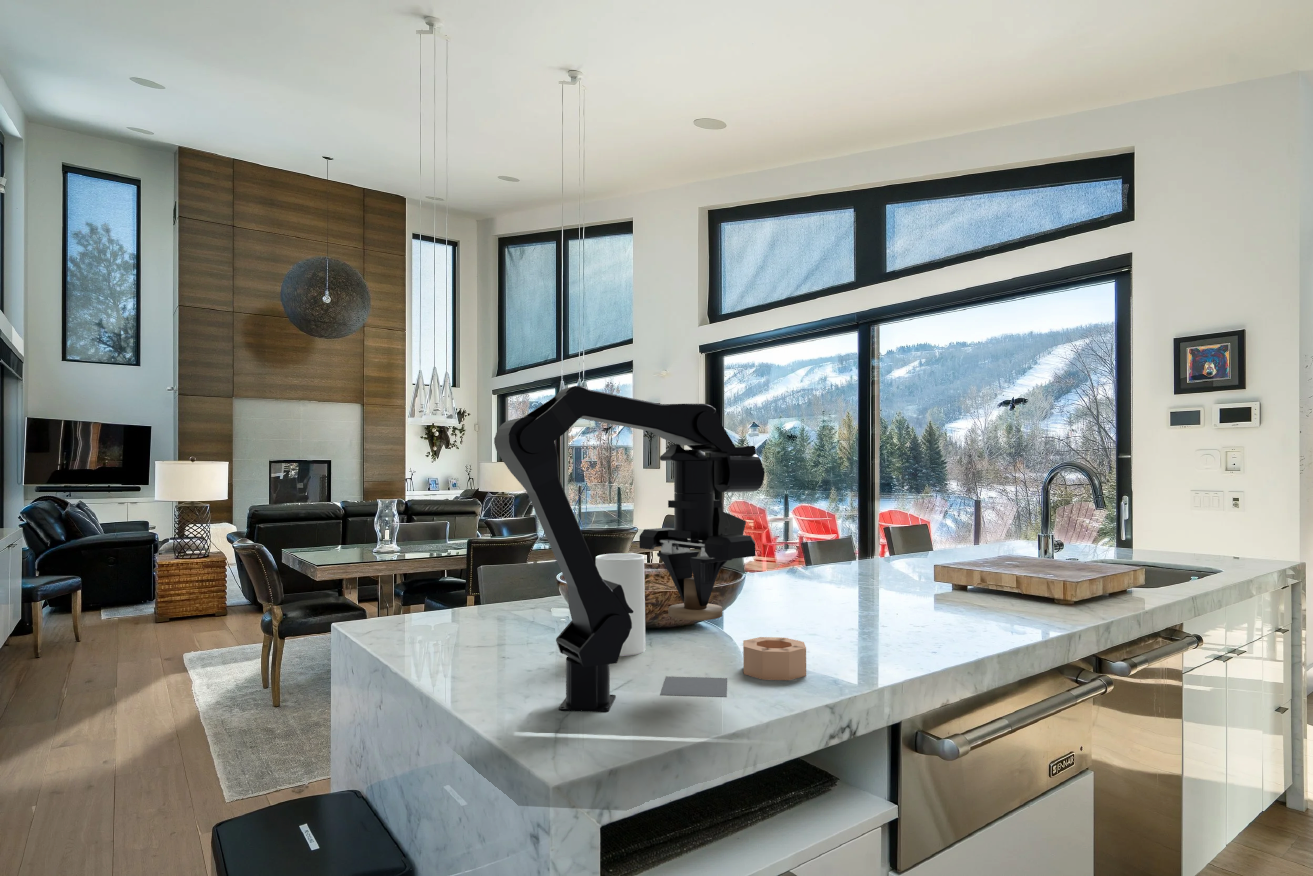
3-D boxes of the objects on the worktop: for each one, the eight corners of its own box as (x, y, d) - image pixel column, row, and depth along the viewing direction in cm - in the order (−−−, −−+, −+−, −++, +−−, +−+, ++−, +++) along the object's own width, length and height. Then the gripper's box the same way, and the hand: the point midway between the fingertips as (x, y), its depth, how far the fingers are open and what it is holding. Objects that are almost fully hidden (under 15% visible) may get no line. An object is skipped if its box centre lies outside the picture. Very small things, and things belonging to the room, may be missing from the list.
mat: (726, 699, 101) (726, 696, 101) (659, 697, 102) (659, 694, 102) (727, 680, 110) (727, 678, 110) (665, 679, 111) (665, 676, 111)
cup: (638, 659, 123) (637, 560, 123) (590, 656, 125) (589, 559, 125) (650, 646, 131) (649, 553, 131) (605, 644, 133) (604, 552, 133)
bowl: (808, 683, 109) (807, 652, 109) (743, 681, 110) (743, 650, 110) (802, 666, 118) (802, 638, 118) (743, 665, 119) (743, 636, 119)
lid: (721, 620, 103) (721, 583, 103) (666, 620, 103) (665, 583, 104) (722, 610, 110) (722, 575, 110) (670, 609, 111) (670, 575, 111)
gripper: (782, 493, 105) (783, 606, 105) (692, 490, 120) (693, 589, 119) (724, 495, 98) (725, 617, 98) (637, 492, 113) (637, 597, 112)
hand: (695, 604), depth 107 cm, fingers closed on lid, 3 cm apart
